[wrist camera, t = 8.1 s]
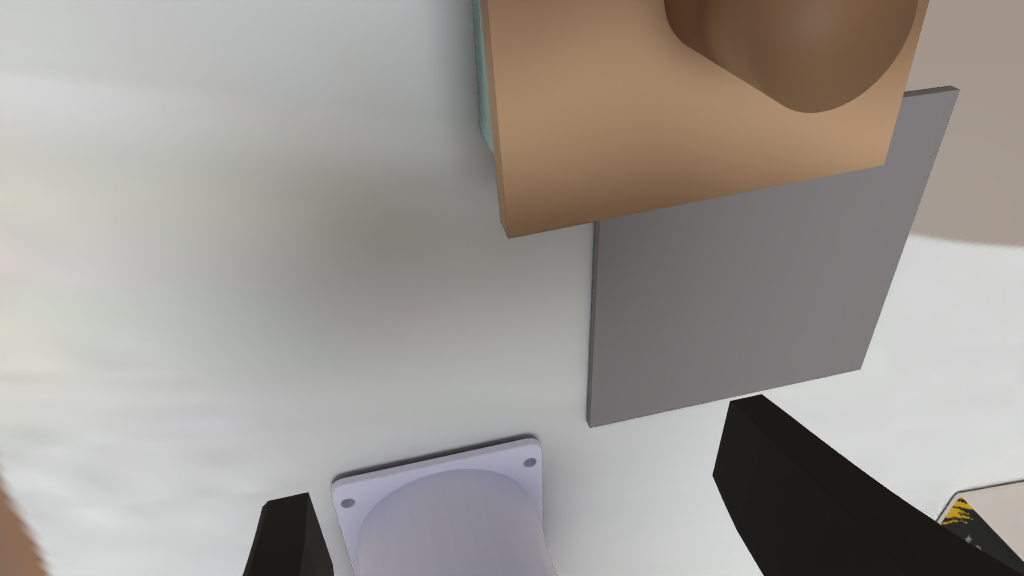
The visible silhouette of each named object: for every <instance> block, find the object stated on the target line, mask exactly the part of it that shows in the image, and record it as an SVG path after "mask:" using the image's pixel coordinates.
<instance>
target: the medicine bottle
mask: <svg viewBox="0 0 1024 576" xmlns="http://www.w3.org/2000/svg"><path fill="white" fill-rule="evenodd" d="M937 523H939V524H940V525H942V526H943V527H945V528H946V529H948V530H949V531H951V532H952V533H954V534H956V535H957V536H959V537H960V538H962V539H964V540H965V541H967V542H968V543H970V544H972V545H973V546H975V547H977V548H978V549H980V550H982V551H983V552H985V553H987V554H988V555H990V556H992V557H994V558H995V559H997V560H999V561H1000V562H1002V563H1004V564H1005V565H1007V566H1009V567H1011V568H1012V569H1014V570H1016V571H1017V572H1019V573H1021V574H1022V575H1024V481H1023V482H1018V483H1012V484H1007V485H1001V486H996V487H990V488H985V489H979V490H973V491H968V492H962V493H958V494H956V495H955V496H954V497H953V499H952V500H951V502H950V503H949V505H948V506H947V508H946V509H945V511H944V512H943V514H942V515H941V517H940V518H939V520H938V521H937Z"/></svg>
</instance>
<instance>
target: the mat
mask: <svg viewBox="0 0 1024 576" xmlns="http://www.w3.org/2000/svg"><path fill="white" fill-rule="evenodd" d="M959 91H960V90H959V89H957V88H955V87H953V86H945V87H937V88H929V89H922V90H915V91H907V92H904V94H903V98H902V101H901V105H900V109H899V112H898V116H897V120H896V123H895V127H894V131H893V134H892V138H891V141H890V145H889V149H888V152H887V156H886V160H885V163H884V165H882V166H877V167H872V168H867V169H862V170H856V171H851V172H846V173H841V174H836V175H831V176H826V177H821V178H816V179H810V180H805V181H800V182H795V183H790V184H785V185H780V186H775V187H770V188H764V189H759V190H754V191H749V192H744V193H739V194H734V195H729V196H724V197H718V198H713V199H708V200H703V201H698V202H693V203H688V204H683V205H678V206H672V207H667V208H662V209H657V210H652V211H647V212H642V213H637V214H632V215H626V216H621V217H616V218H611V219H606V220H601V221H596V222H595V241H594V264H593V287H592V310H591V333H590V356H589V379H588V402H587V422H588V425H589V427H590V428H592V427H597V426H602V425H606V424H611V423H615V422H620V421H625V420H629V419H634V418H639V417H643V416H648V415H652V414H657V413H662V412H666V411H671V410H675V409H680V408H685V407H689V406H694V405H698V404H703V403H708V402H712V401H717V400H722V399H726V398H731V397H735V396H740V395H745V394H749V393H754V392H758V391H763V390H768V389H772V388H777V387H781V386H786V385H791V384H795V383H800V382H805V381H809V380H814V379H818V378H823V377H828V376H832V375H837V374H841V373H846V372H851V371H855V370H860V369H861V366H862V364H863V361H864V358H865V355H866V352H867V349H868V347H869V344H870V341H871V338H872V335H873V333H874V330H875V327H876V324H877V321H878V319H879V316H880V313H881V310H882V307H883V305H884V302H885V299H886V296H887V293H888V291H889V288H890V285H891V282H892V279H893V276H894V274H895V271H896V268H897V265H898V262H899V260H900V257H901V254H902V251H903V248H904V246H905V243H906V240H907V237H908V234H909V232H910V229H911V226H912V223H913V220H914V217H915V215H916V212H917V209H918V206H919V203H920V201H921V198H922V195H923V192H924V189H925V187H926V184H927V181H928V178H929V175H930V173H931V170H932V167H933V164H934V161H935V158H936V156H937V153H938V150H939V147H940V144H941V142H942V139H943V136H944V133H945V130H946V128H947V125H948V122H949V119H950V116H951V113H952V111H953V108H954V105H955V102H956V100H957V97H958V94H959Z"/></svg>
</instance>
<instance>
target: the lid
mask: <svg viewBox="0 0 1024 576" xmlns="http://www.w3.org/2000/svg"><path fill="white" fill-rule="evenodd" d="M928 3H929V0H480V10H481V20H482V31H483V41H484V52H485V63H486V73H487V84H488V94H489V105H490V115H491V126H492V136H493V147H494V158H495V168H496V179H497V189H498V200H499V210H500V221H501V224H502V226H503V228H504V230H505V232H506V234H507V237H508V239H509V238H514V237H519V236H524V235H529V234H535V233H540V232H545V231H550V230H555V229H560V228H565V227H570V226H575V225H580V224H586V223H591V222H596V221H601V220H606V219H611V218H616V217H621V216H626V215H632V214H637V213H642V212H647V211H652V210H657V209H662V208H667V207H672V206H678V205H683V204H688V203H693V202H698V201H703V200H708V199H713V198H718V197H724V196H729V195H734V194H739V193H744V192H749V191H754V190H759V189H764V188H770V187H775V186H780V185H785V184H790V183H795V182H800V181H805V180H810V179H816V178H821V177H826V176H831V175H836V174H841V173H846V172H851V171H856V170H862V169H867V168H872V167H877V166H882V165H884V163H885V160H886V156H887V152H888V149H889V145H890V141H891V138H892V134H893V131H894V127H895V123H896V120H897V116H898V112H899V109H900V105H901V101H902V98H903V94H904V90H905V87H906V83H907V80H908V76H909V72H910V69H911V65H912V61H913V58H914V54H915V50H916V47H917V43H918V39H919V35H920V32H921V29H922V25H923V21H924V17H925V14H926V10H927V7H928Z"/></svg>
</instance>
